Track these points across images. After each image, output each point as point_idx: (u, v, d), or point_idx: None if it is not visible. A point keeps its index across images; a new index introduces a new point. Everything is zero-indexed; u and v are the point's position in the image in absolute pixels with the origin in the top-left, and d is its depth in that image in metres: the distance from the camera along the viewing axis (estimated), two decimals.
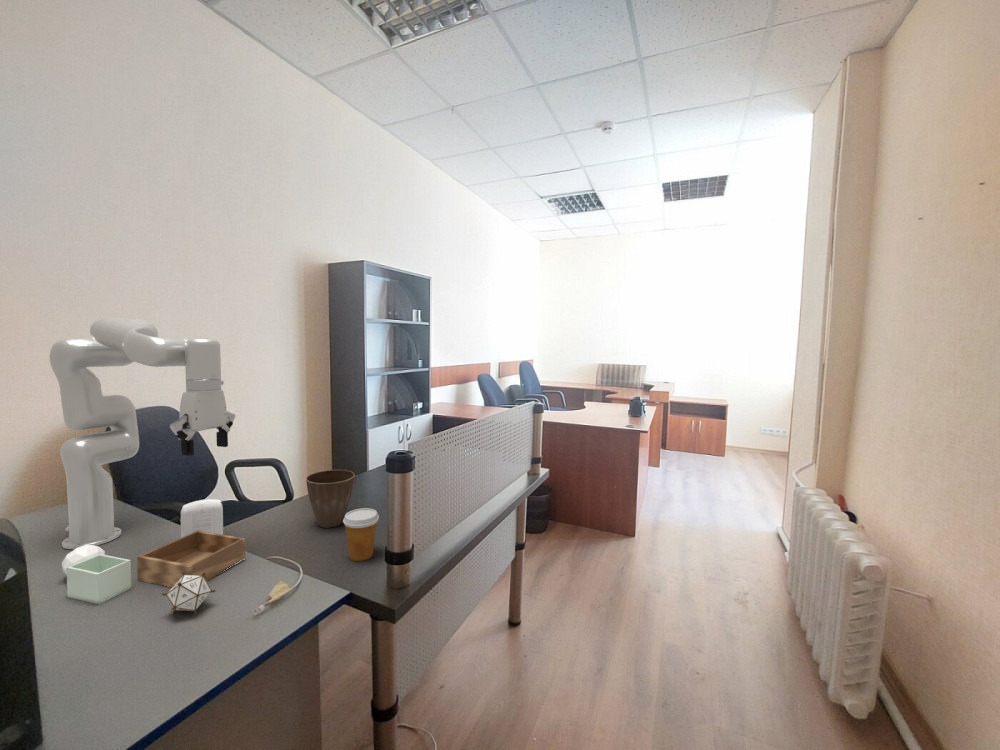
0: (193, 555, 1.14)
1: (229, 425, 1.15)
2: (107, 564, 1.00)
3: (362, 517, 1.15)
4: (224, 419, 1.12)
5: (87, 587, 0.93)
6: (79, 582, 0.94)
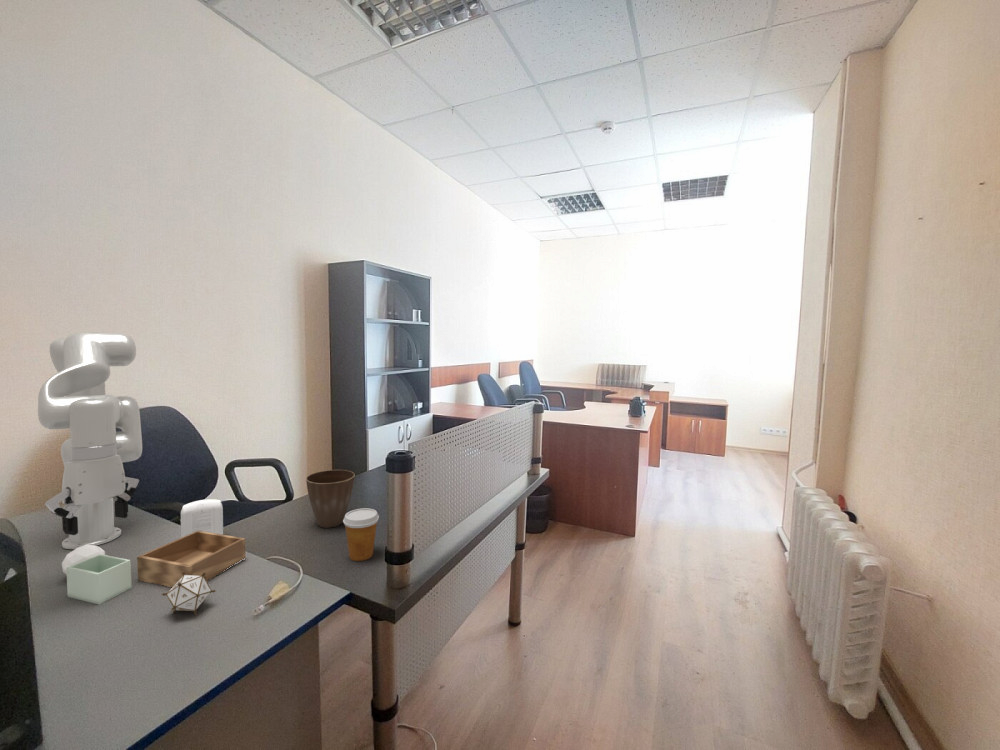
0: (193, 555, 1.14)
1: (130, 492, 1.02)
2: (107, 564, 1.00)
3: (362, 517, 1.15)
4: (121, 487, 0.99)
5: (87, 587, 0.93)
6: (79, 582, 0.94)
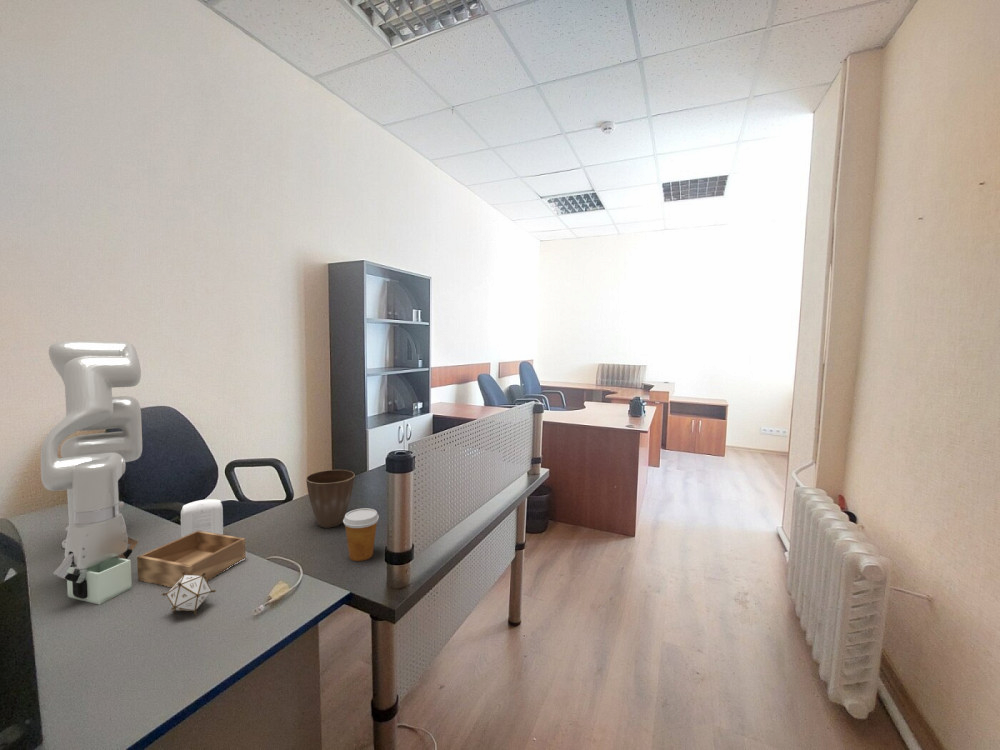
0: (193, 555, 1.14)
1: (127, 554, 1.02)
2: (107, 564, 1.00)
3: (362, 517, 1.15)
4: (123, 546, 1.00)
5: (87, 587, 0.93)
6: None
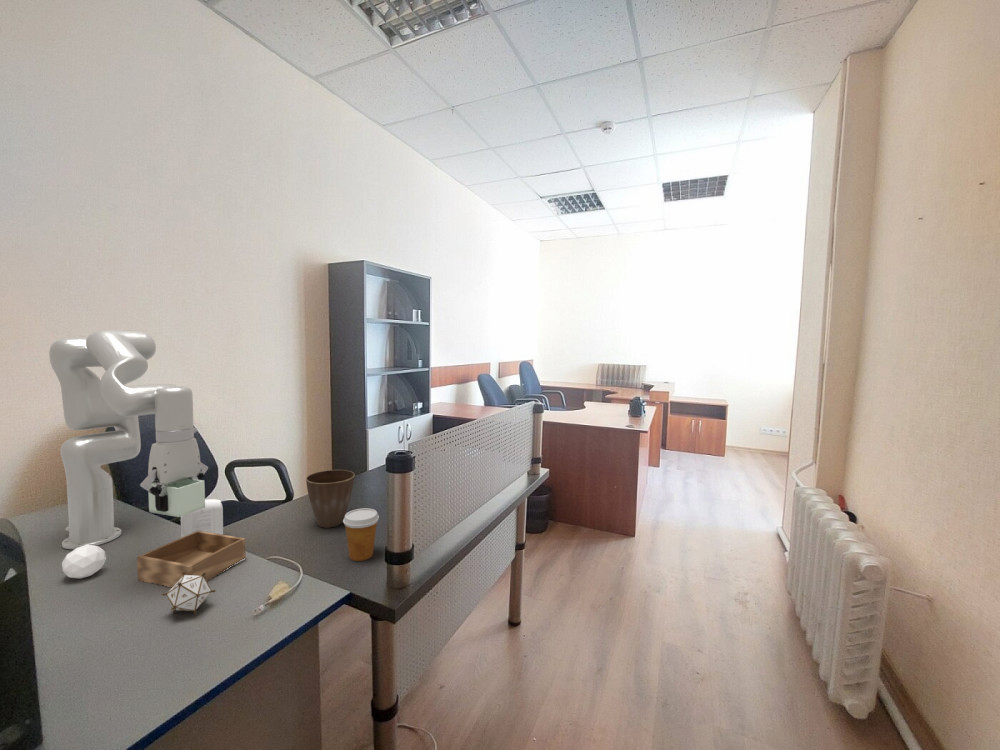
0: (193, 555, 1.14)
1: (199, 478, 1.09)
2: (182, 485, 1.08)
3: (362, 517, 1.15)
4: (197, 468, 1.08)
5: (168, 501, 1.01)
6: None
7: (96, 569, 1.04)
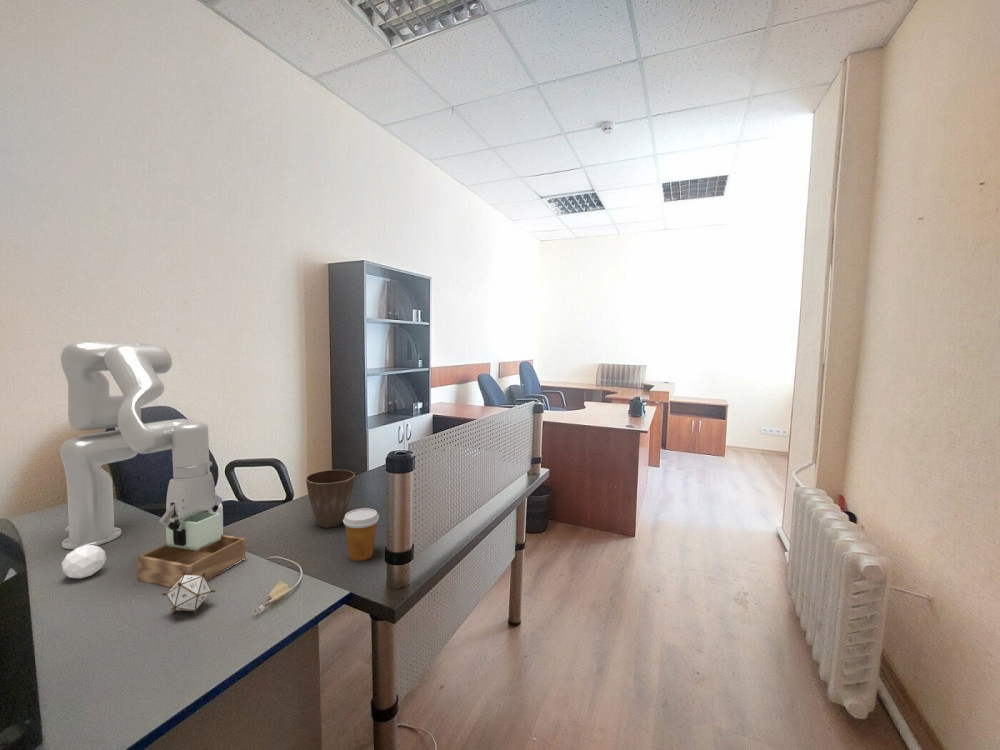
0: (193, 555, 1.14)
1: (214, 510, 1.12)
2: (198, 518, 1.10)
3: (362, 517, 1.15)
4: (213, 501, 1.10)
5: (186, 535, 1.04)
6: None
7: (96, 569, 1.04)
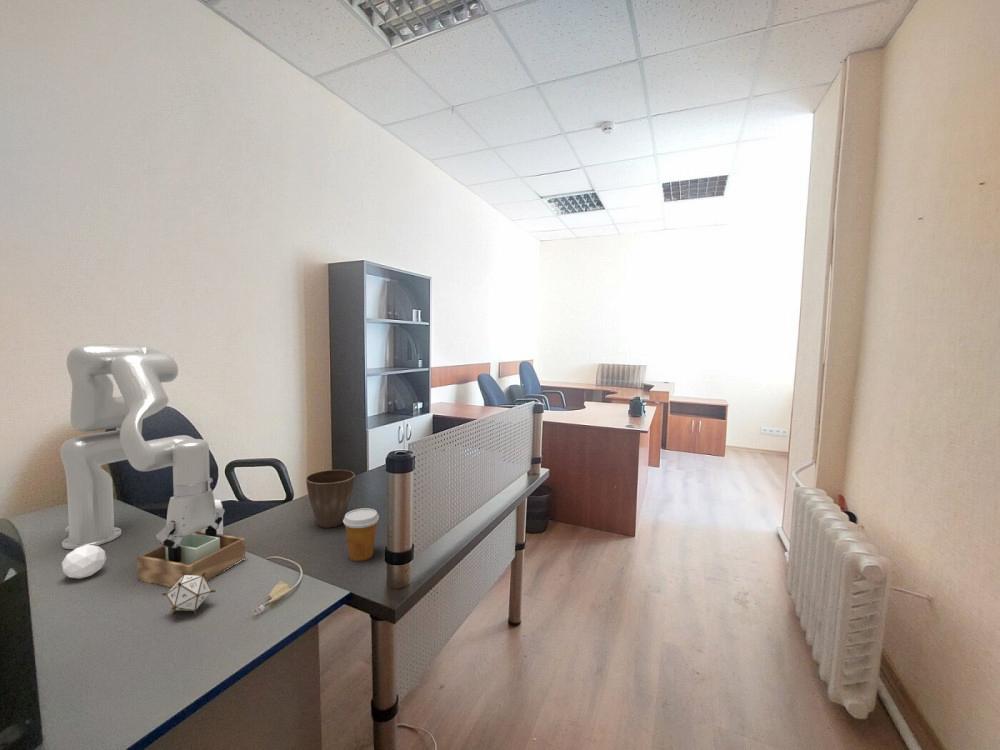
0: None
1: (218, 521, 1.13)
2: (197, 541, 1.11)
3: (362, 517, 1.15)
4: (213, 518, 1.10)
5: (185, 561, 1.04)
6: None
7: (96, 569, 1.04)
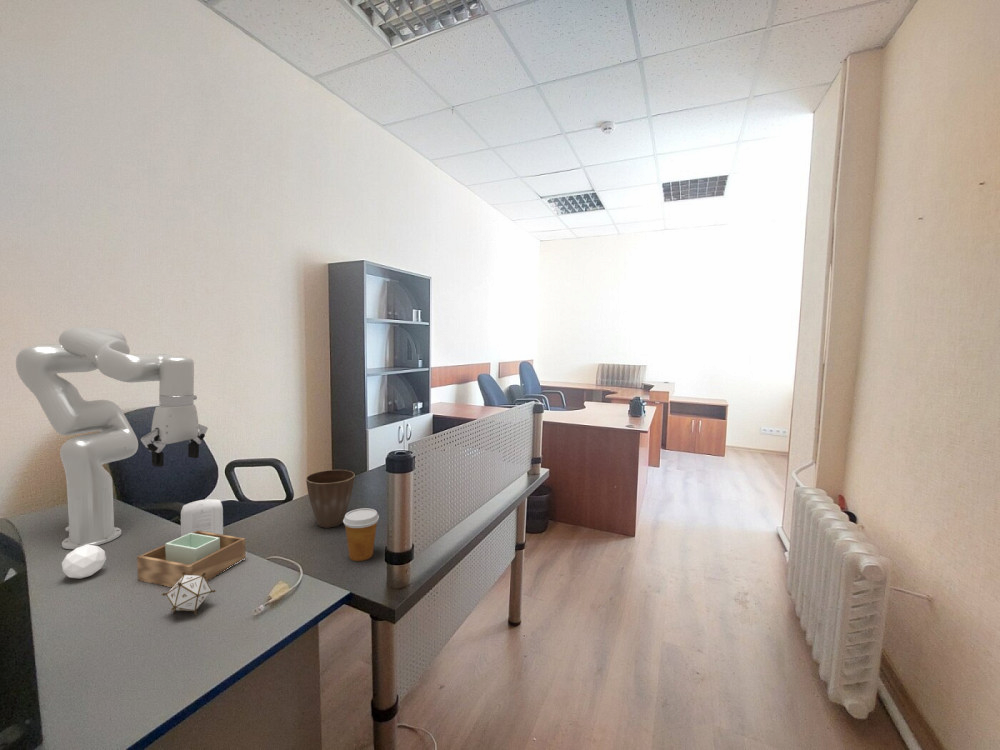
0: None
1: (201, 437, 1.22)
2: (197, 541, 1.11)
3: (362, 517, 1.15)
4: (195, 432, 1.19)
5: (185, 561, 1.04)
6: (177, 556, 1.05)
7: (96, 569, 1.04)
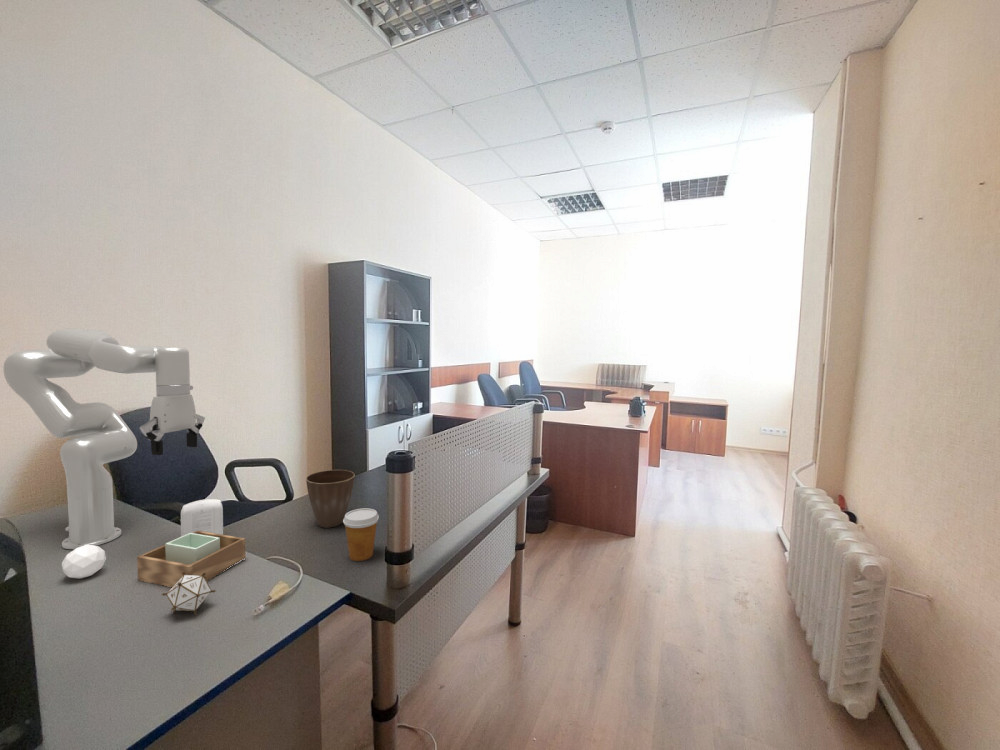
0: None
1: (198, 427, 1.24)
2: (197, 541, 1.11)
3: (362, 517, 1.15)
4: (193, 421, 1.21)
5: (185, 561, 1.04)
6: (177, 556, 1.05)
7: (96, 569, 1.04)
